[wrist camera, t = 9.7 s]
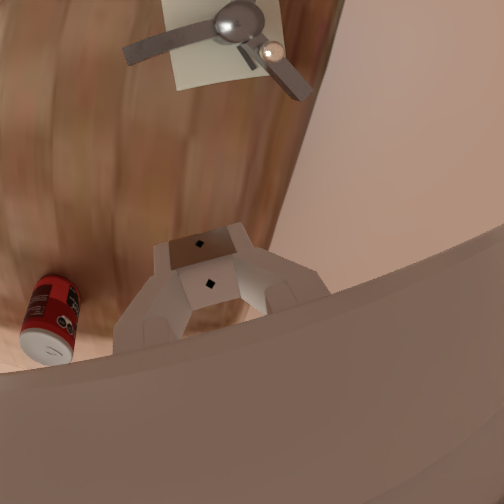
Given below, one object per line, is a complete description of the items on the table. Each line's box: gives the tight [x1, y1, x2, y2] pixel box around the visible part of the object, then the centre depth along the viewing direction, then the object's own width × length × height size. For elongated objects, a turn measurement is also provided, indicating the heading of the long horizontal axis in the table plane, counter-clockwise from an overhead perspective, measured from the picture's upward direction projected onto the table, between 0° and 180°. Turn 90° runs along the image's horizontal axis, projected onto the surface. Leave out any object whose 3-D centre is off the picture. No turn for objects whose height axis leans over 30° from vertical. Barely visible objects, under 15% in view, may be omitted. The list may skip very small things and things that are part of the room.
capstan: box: [122, 0, 314, 102], centre depth 22 cm, size 16×18×7 cm
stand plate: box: [161, 0, 286, 91], centre depth 24 cm, size 12×12×2 cm
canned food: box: [19, 275, 81, 366], centre depth 34 cm, size 8×8×11 cm
